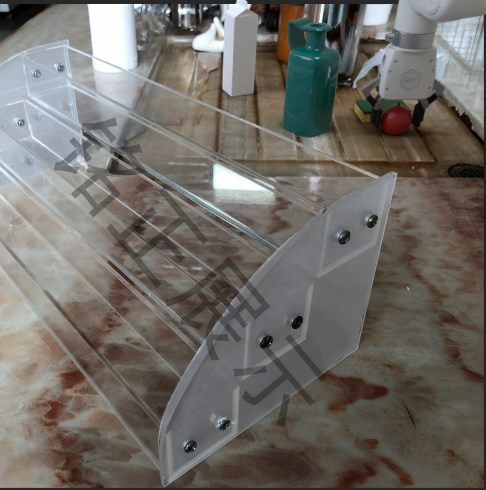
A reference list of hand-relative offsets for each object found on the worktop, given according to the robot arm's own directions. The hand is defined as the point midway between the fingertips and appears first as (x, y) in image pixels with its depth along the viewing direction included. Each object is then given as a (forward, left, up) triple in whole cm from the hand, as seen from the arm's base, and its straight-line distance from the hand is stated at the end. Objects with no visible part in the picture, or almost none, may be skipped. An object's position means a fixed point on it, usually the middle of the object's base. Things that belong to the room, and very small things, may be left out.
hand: (395, 124), depth 124 cm
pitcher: (+18, -4, -2) cm, 19 cm away
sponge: (0, -9, -2) cm, 9 cm away
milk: (+30, -27, -2) cm, 40 cm away
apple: (0, 0, -2) cm, 2 cm away
